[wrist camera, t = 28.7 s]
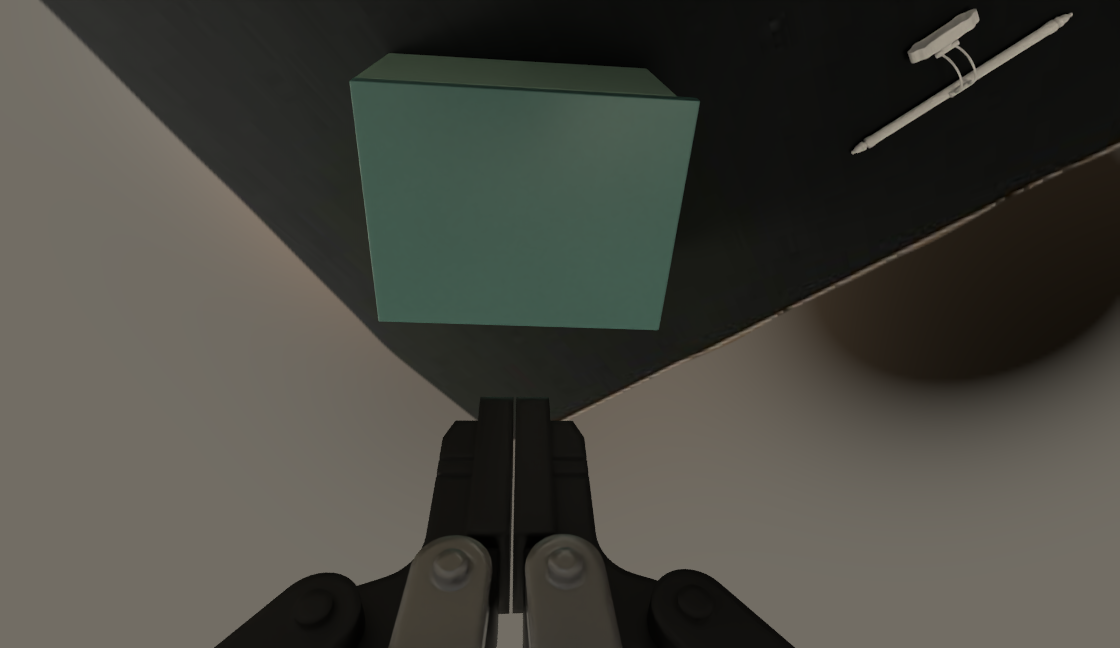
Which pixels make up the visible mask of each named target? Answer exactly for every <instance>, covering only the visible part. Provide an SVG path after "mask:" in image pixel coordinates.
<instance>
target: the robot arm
mask: <svg viewBox="0 0 1120 648" xmlns="http://www.w3.org/2000/svg"><path fill="white" fill-rule="evenodd" d="M512 478H513V397H481V398H480V407H479V416H478V421H455V422H454V424H453V425H452V426H451V428H450V429H449V430H448V432H447V433H446V434H445V436H444V437H443V440H442V446H441V452H440V460H439V463H438V469H437V477H436V481H435V487H434V493H433V499H432V504H431V511H430V517H429V522H428V528H427V533H426V538H425V542H424V545H423V546H422V549H421V550H420V551H419V552H418V554H417V555H416V556H415V558H414V559H413V561H412V562H411V563H409V564H408V565H407V566H406V567H404V568H403V569H402V570H400V571H398V572H396V573H394V574H392V575H389V576H387V577H384V578H381V579H378V580H375V581H371V582H368V583H365V584H362V585H359V586H356V585H355V584H354V583H353V582H352V581H351V580H350V579H349V578H347V577H346V576H343V575H341V574H337V573H318V574H315V575H311V576H309V577H306V578H303V579H301V580H299V581H298V582H296V583H294V584H293V585H291V586H290V587H289V588H287V589H286V590H285V591H284V592H283V593H281V594H280V595H279V596H278V597H276V598H275V599H274V600H273V601H271V602H270V603H269V604H268V605H266V606H265V607H264V608H263V609H261V610H260V611H259V612H258V613H256V614H255V615H254V616H253V617H252V618H250V619H249V620H248V621H247V622H245V623H244V624H243V625H242V626H240V627H239V628H238V629H237V630H235V631H234V632H233V633H232V634H231V635H230V636H228V637H227V638H226V639H225V640H223V641H222V642H221V643H219V644H218V645H217V646H216V647H214V648H496V646H497V634H498V614H508V613H509V599H510V597H509V596H510V558H511V519H512V518H511V517H512ZM513 544H514V545H513V613H523V648H795V647H793V646H792V645H791V644H790V643H789V642H788V641H786V640H785V639H784V638H783V637H782V636H781V635H779V634H778V633H777V632H776V631H775V630H774V629H772V628H771V627H770V626H769V625H768V624H766V623H765V622H764V621H763V620H762V619H761V618H760V617H758V616H757V615H756V614H755V613H754V612H753V611H752V610H750V609H749V608H748V607H747V606H746V605H745V604H743V603H742V602H741V601H740V600H739V599H737V598H736V597H735V596H734V595H733V594H732V593H731V592H729V591H728V590H727V589H726V588H725V587H723V586H722V585H721V584H720V583H719V582H717V581H716V580H715V579H714V578H712V577H710V576H708V575H707V574H704V573H702V572H699V571H695V570H688V569H681V570H675V571H672V572H669V573H667V574H666V575H664V576H662V577H661V578H660V579H659V580H658V581H657V580H654V579H650V578H647V577H643V576H640V575H636V574H633V573H631V572H628V571H625V570H624V569H622V568H620V567H618V566H617V565H615V564H614V563H612V561H611V560H609V559H608V558H607V557H606V555H605V554H604V553H603V552H602V550H601V548H600V546H599V544H598V541H597V538H596V532H595V524H594V516H593V508H592V500H591V491H590V483H589V477H588V466H587V461H586V450H585V441H584V437H583V436H582V434H581V433H580V431H579V430H578V428H577V427H576V425H575V424H574V422H573V421H550V407H549V397H516V440H515V490H514V540H513Z"/></svg>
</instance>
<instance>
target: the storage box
mask: <svg viewBox="0 0 1120 648" xmlns="http://www.w3.org/2000/svg"><path fill="white" fill-rule="evenodd" d="M355 78H369V79H386V80H403V81H420V82H437V83H454V84H471V85H488V86H505V87H522V88H539V89H556V90H573V91H590V92H607V93H624V94H641V95H658V96H675V97H676V95H675V94H674V93H673V92H672V91H671V90H669V89H668V88H667V87H666V86H665V85H664V84H663V83H662V82H661V81H660V80H658V79H657V78H656V77H655V76H654V75H653V74H652V73H651V72H650V71H649V70H648V69H645V68H629V67H612V66H595V65H579V64H562V63H545V62H529V61H512V60H495V59H479V58H462V57H445V56H429V55H412V54H395V53H388V54H387V55H386V56H385V57H383V58H382V59H380V60H379V61H377V62H376V63H375V64H373V65H372V66H370V67H369V68H368V69H366V70H365V71H363V72H362V73H361V74H359V75H358V76H356V77H355Z"/></svg>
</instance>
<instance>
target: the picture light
mask: <svg viewBox="0 0 1120 648" xmlns="http://www.w3.org/2000/svg"><path fill="white" fill-rule="evenodd" d="M1072 15H1073V13H1069V14H1065V15H1062V16H1060V17H1057V18H1055V19H1054V20H1050V21H1049V22H1047V23H1046V24H1044V25H1043V26H1042V27H1041V28H1039V29H1038V30H1036V31H1034V32H1033V33H1031V34H1030V35H1028V36H1027V37H1025V38H1023V39H1022V40H1020V41H1019V42H1017V43H1016V44H1014V45H1012V46H1011V47H1009V48H1008V49H1006V50H1004V51H1003V52H1001V53H1000V54H998V55H997V56H995V57H993V58H992V59H990V60H989V61H987V62H986V63H984V64H982V65H981V66H979V67H978V68H975V65H974V63H973V61H972V59H971V58H970V56H969V55H968V54H967V53H966V52H965V51H964V50H963V49H962V48H961V47H959V46H958V45H959V44H960V43H959V41H958V40H957V39H959V38H960V37H961V36H962V35H963V34H965V33H966V32H968V31H970V30H972V29H973V28H974V27H975V26H976V23H978V22H979V16H978V12H977V9H972V10H969V11H967V12H965V13H962V14H959V15H958V16H956V17H955V18H954V19H953V20H951V21H950V22H948V23H947V24H945V25H944V26H942V27H941V28H939V29H938V30H936V31H935V32H933V33H932V34H930V35H929V36H927V37H926V38H924V39H923V40H921V41H919V42H917V43H915V44H914V45H913V46H912V48H911V49H910V50H909V51H908V55H909V58H910V61H911V63H916V62H919V61H921V60H924V59H927V58H929V57H930V56H932V55H933V54H935V53H936V54H935V57H936V58H939V57H941V56H942V57H944V58H946V59H947V60H948V61H949V62H950V63H951V64H952V65H953V67H954V68H955V70H956V71H957V73H958V75H959V78H960V79H959V80H957V81H956V82H954V83H953V84H951V85H949V86H948V87H946V88H945V89H943V90H942V91H940V92H938V93H937V94H935V95H934V96H932V97H931V98H929V99H927V100H926V101H924V102H923V103H921V104H920V105H918V106H916V107H915V108H913V109H912V110H910V111H909V112H907V113H905V114H904V115H902V116H901V117H899V118H898V119H896V120H894V121H893V122H891V123H890V124H888V125H887V126H885V127H883V128H882V129H880V130H879V131H877V132H875V133H874V134H872V135H871V136H868V137H866V138H865V139H864V142H860V143H859V144H858V145H857V146H856V147H855V148H854V150H853V151H852V152H851V153H852V154H854V153H859V152H861V151H865V150H866V149H867V147H868V148H871V147H873V146H874V145H875V144H876V143H878V142H879V141H881V140H883V139H884V138H886V137H887V136H889V135H890V134H892V133H894V132H895V131H897V130H898V129H900V128H902V127H903V126H905V125H906V124H908V123H909V122H911V121H913V120H914V119H916V118H917V117H919V116H921V115H922V114H924V113H925V112H927V111H929V110H930V109H932V108H933V107H935V106H936V105H938V104H940V103H941V102H943V101H944V100H946V99H948V98H949V97H953V96H955V95H957V94H958V93H960V92H961V91H963V90H964V89H966V88H968V87H969V86H971V85H972V84H974V83H975V81H976V80H978V79H979V78H981V77H983V76H984V75H986V74H987V73H989V72H990V71H992V70H994V69H995V68H997V67H998V66H1000V65H1002V64H1003V63H1005V62H1006V61H1008V60H1009V59H1011V58H1013V57H1014V56H1016V55H1017V54H1019V53H1021V52H1022V51H1024V50H1025V49H1027V48H1029V47H1030V46H1032V45H1033V44H1035V43H1036V42H1038V41H1040V40H1041V39H1043V38H1044V37H1046V36H1048V35H1050V34H1052V33H1054V32H1055V31H1057V30H1058V28H1060V27H1061V26H1063V25H1064V23H1066V22H1067V21H1068V20H1069V18H1070V17H1071V16H1072ZM954 41H955V42H954ZM954 47H956V48H958V49H959V50H960V51H962V52H963V53H964V54H965V55H966V56H967V58H968V59H969V61H970V62H971V64H972V67H973V71H971V72H970V73H968V74H967V75H965V76H964V77H962V76H961V74H960V72H959V70H958V68H957V67H956V65H955V64H954V63H953V62H952V60H951V59H949V58H948V57H947V56H945V55H944V54H945V53H947V52H948V51H950V50H951V49H953V48H954ZM937 52H938V53H937Z"/></svg>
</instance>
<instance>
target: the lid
mask: <svg viewBox="0 0 1120 648" xmlns="http://www.w3.org/2000/svg"><path fill="white" fill-rule="evenodd" d="M350 89H351V97H352V105H353V114H354V122H355V130H356V138H357V147H358V155H359V163H360V171H361V179H362V188H363V196H364V204H365V212H366V221H367V229H368V237H369V245H370V254H371V262H372V270H373V278H374V286H375V295H376V303H377V311H378V319H379V321H389V322H420V323H452V324H484V325H516V326H548V327H580V328H612V329H643V330H659V325H660V320H661V314H662V309H663V303H664V298H665V292H666V287H667V281H668V276H669V270H670V265H671V259H672V254H673V248H674V242H675V237H676V231H677V226H678V220H679V215H680V209H681V204H682V198H683V193H684V187H685V182H686V176H687V171H688V165H689V160H690V154H691V149H692V143H693V138H694V132H695V127H696V121H697V116H698V110H699V105H700V101H699V100H698V99H697V98H692V97H675V96H658V95H641V94H624V93H607V92H590V91H573V90H556V89H539V88H522V87H505V86H488V85H471V84H454V83H437V82H420V81H403V80H386V79H369V78H353V79H351V80H350Z"/></svg>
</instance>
